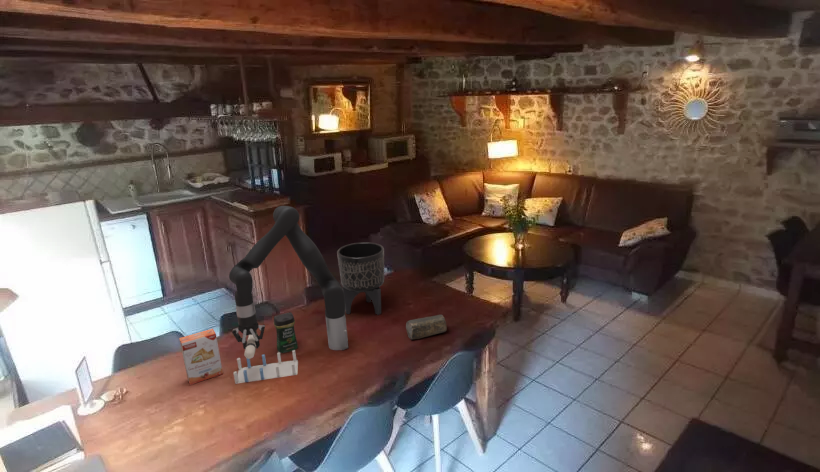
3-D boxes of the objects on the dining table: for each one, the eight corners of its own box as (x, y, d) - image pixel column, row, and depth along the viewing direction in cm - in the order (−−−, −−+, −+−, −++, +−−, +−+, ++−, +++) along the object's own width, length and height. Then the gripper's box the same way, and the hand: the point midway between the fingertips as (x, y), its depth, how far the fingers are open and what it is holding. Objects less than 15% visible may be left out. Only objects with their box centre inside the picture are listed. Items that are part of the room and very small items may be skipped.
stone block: (405, 335, 242) (413, 343, 233) (403, 319, 239) (412, 327, 230) (440, 325, 249) (449, 332, 240) (439, 309, 247) (448, 316, 238)
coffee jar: (280, 356, 226) (275, 320, 221) (275, 348, 233) (270, 314, 227) (300, 350, 231) (295, 315, 225) (295, 342, 237) (290, 308, 232)
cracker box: (190, 386, 207) (181, 343, 200) (187, 379, 212) (178, 337, 205) (223, 374, 214) (215, 332, 207) (220, 368, 219) (212, 327, 212)
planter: (349, 299, 283) (344, 241, 272) (391, 299, 279) (387, 242, 268) (337, 319, 259) (331, 257, 248) (382, 320, 255) (378, 258, 244)
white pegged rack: (298, 361, 222) (296, 349, 220) (297, 377, 209) (295, 365, 207) (239, 369, 217) (237, 358, 215) (235, 386, 205) (233, 374, 203)
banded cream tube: (249, 340, 216) (248, 331, 215) (258, 339, 217) (257, 331, 215) (244, 359, 201) (243, 350, 200) (254, 358, 202) (253, 349, 201)
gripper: (264, 306, 208) (269, 341, 214) (230, 311, 206) (236, 346, 211) (262, 314, 201) (268, 350, 207) (227, 319, 199) (233, 355, 204)
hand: (251, 348), depth 209 cm, fingers closed on banded cream tube, 4 cm apart
